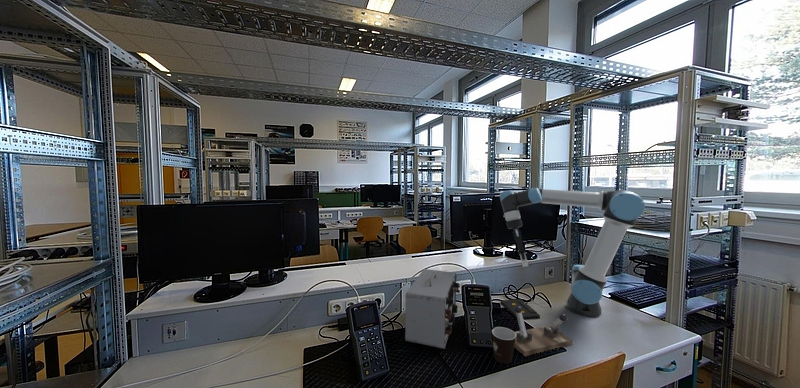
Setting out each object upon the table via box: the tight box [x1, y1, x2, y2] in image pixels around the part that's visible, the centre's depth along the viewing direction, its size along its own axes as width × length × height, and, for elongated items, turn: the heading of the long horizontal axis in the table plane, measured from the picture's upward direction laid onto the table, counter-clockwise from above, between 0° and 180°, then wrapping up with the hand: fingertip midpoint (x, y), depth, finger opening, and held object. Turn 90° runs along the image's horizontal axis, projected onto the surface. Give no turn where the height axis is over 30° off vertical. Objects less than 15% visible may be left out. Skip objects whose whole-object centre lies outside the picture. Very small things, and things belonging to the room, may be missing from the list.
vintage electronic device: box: [404, 268, 461, 350], centre depth 128 cm, size 32×18×25 cm, turn 161°
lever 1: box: [514, 306, 528, 339], centre depth 118 cm, size 3×3×12 cm
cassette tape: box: [500, 298, 541, 320], centre depth 146 cm, size 18×12×2 cm, turn 8°
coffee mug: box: [490, 326, 516, 365], centre depth 110 cm, size 12×9×10 cm
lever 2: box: [549, 313, 568, 333], centre depth 118 cm, size 3×3×12 cm
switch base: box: [513, 324, 573, 357], centre depth 119 cm, size 24×12×5 cm, turn 108°
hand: (525, 266), depth 141 cm, fingers closed
